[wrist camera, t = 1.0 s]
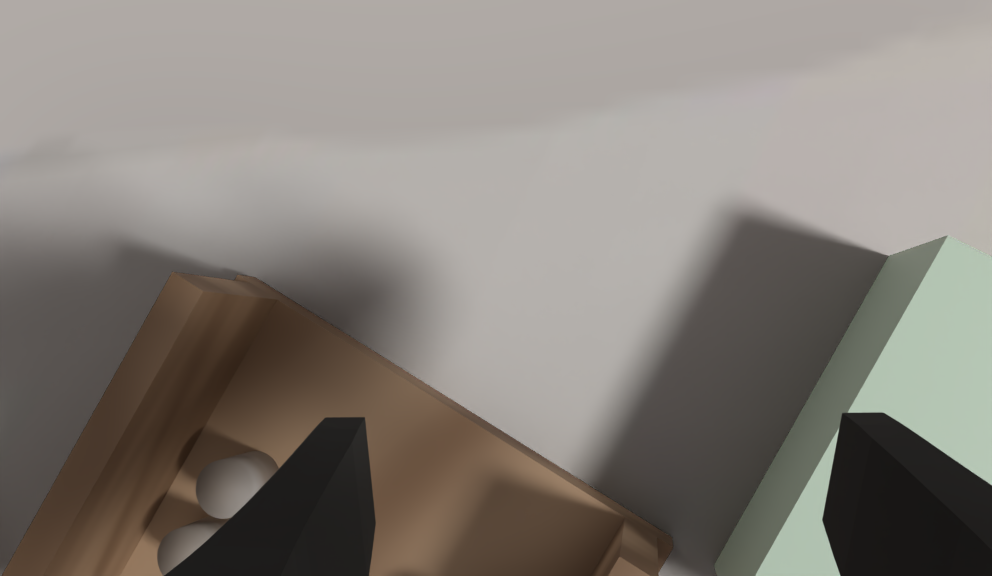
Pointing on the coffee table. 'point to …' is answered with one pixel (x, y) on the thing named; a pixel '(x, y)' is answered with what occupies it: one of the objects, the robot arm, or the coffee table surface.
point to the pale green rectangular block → (881, 400)
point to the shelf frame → (279, 432)
